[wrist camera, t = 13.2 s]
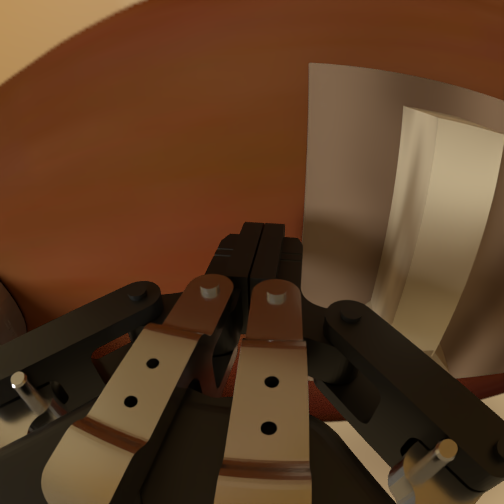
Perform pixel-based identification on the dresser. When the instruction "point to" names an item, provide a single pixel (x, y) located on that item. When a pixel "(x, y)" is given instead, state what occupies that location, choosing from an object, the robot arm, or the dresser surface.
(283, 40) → the dresser surface
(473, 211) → the birch link
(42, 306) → the dresser surface
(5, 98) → the dresser surface
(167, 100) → the dresser surface
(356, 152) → the hinge base
